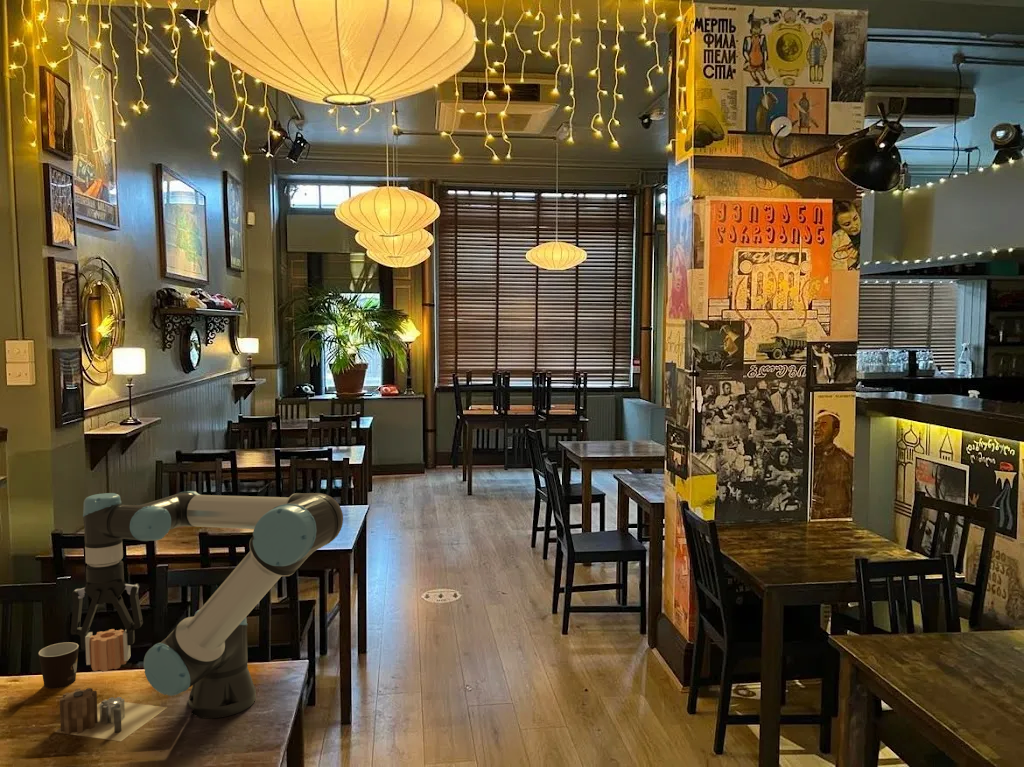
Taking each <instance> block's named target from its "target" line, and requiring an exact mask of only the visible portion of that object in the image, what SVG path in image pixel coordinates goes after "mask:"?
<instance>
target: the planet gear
mask: <svg viewBox="0 0 1024 767" xmlns="http://www.w3.org/2000/svg"><path fill="white" fill-rule="evenodd" d="M124 631H125V630H124V629H122V628H120V629H118V630H117V629H116V630H115V628H111V629H108V630H105V631H100V630H99V631H97V632H96V634H94V635H93V636H91V637H90V647H91V664H90V668H91V670H92V671H94V672H97V671H101V672H108V671H109V670H113V669H114V670H118V669H120V668H121V666H122V665H126V664H127V663H128V661H124V646H123V633H124Z"/></svg>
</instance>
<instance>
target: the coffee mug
mask: <svg viewBox="0 0 1024 767" xmlns="http://www.w3.org/2000/svg"><path fill="white" fill-rule="evenodd" d="M79 646H80V645H79V644H78V643H76V642H73V641H72V642H69V641H68V642H67V641H66V642H58V643H54V644H50V645H48V646H45V647H43V648H41V649H40V650H39V651H38V658H39V664H40V668H41V670H40V671H41V675H42V680H43V685H44V686H43V687H44V688H45V689H49V690H53V689H55V690H56V689H62V688H65V687H68V686H71V685H72V684H74V683H75V682H76V678H77V670H78V669H77V668H78V658H79V657H78V656H79Z"/></svg>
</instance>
